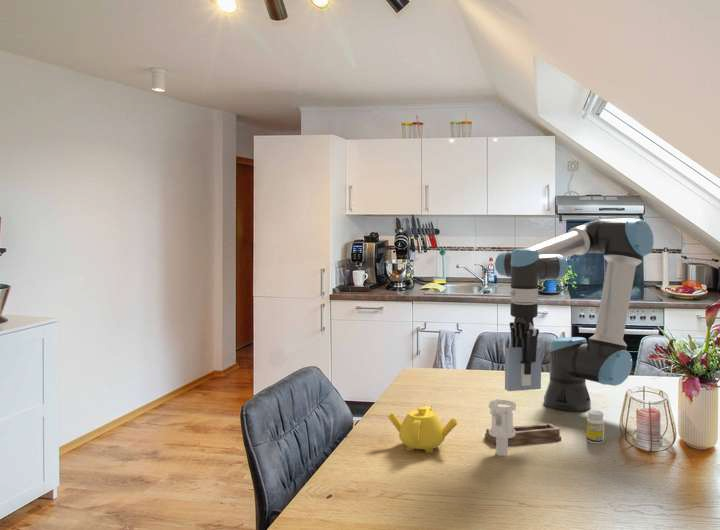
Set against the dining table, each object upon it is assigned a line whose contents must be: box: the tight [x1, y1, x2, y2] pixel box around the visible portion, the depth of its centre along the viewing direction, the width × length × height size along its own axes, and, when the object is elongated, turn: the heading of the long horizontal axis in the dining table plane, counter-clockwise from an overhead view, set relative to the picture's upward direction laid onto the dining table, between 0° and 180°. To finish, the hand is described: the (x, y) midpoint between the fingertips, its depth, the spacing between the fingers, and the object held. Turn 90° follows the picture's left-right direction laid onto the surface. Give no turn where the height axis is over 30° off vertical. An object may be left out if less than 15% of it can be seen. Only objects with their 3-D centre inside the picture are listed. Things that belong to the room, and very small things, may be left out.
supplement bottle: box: [586, 409, 605, 445], centre depth 176 cm, size 5×5×8 cm
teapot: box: [387, 405, 458, 454], centre depth 173 cm, size 20×18×11 cm
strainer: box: [488, 399, 517, 457], centre depth 167 cm, size 7×7×15 cm
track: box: [484, 423, 562, 446], centre depth 179 cm, size 20×8×3 cm, turn 103°
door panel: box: [504, 345, 542, 392], centre depth 178 cm, size 10×3×12 cm, turn 103°
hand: (523, 383), depth 178 cm, fingers closed on door panel, 2 cm apart
